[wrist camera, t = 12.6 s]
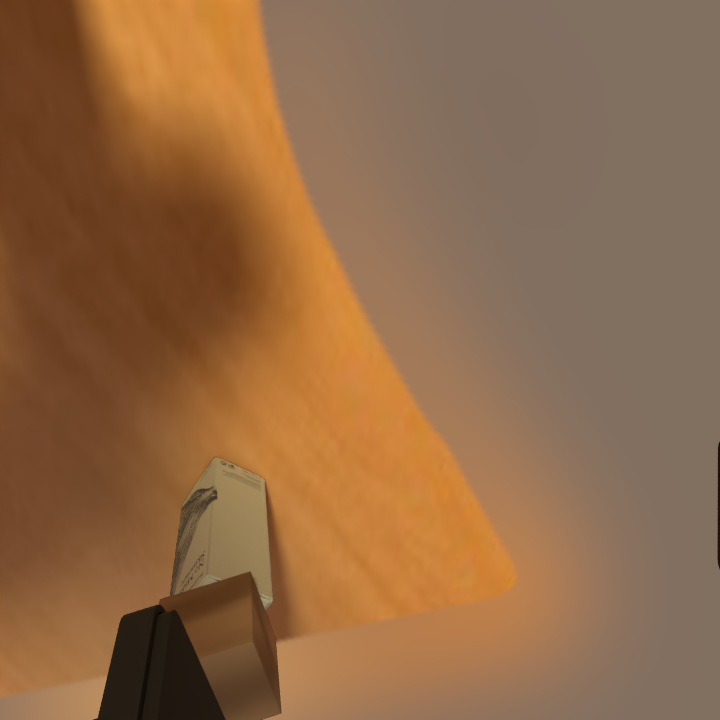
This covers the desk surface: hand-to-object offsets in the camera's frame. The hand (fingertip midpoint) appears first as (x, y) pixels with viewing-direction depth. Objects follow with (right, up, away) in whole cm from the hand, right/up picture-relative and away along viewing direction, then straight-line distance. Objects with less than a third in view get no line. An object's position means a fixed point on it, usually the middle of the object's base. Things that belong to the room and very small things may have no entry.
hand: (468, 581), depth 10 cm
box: (-12, -6, +36) cm, 39 cm away
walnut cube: (-10, -11, +24) cm, 28 cm away
